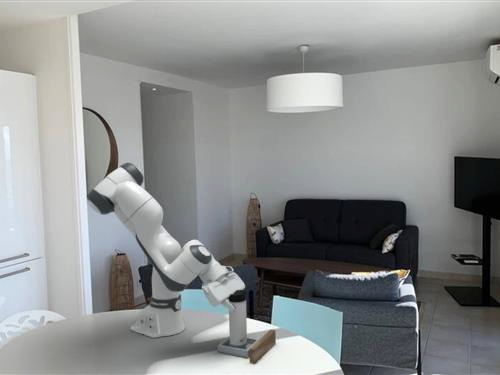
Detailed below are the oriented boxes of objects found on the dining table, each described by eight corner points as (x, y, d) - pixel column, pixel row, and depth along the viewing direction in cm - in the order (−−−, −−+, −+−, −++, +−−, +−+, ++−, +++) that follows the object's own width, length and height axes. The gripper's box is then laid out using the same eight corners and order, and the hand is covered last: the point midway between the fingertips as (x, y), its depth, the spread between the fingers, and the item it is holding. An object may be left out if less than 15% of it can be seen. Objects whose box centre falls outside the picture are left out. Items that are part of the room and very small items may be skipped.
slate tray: (217, 352, 159) (217, 345, 158) (232, 340, 168) (232, 334, 168) (247, 358, 153) (247, 351, 153) (260, 346, 163) (260, 339, 163)
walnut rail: (249, 362, 150) (249, 348, 150) (270, 342, 166) (270, 329, 166) (255, 363, 149) (254, 349, 149) (275, 343, 165) (275, 330, 165)
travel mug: (246, 349, 157) (245, 293, 155) (227, 348, 158) (226, 293, 156) (249, 341, 163) (248, 288, 161) (231, 340, 164) (230, 287, 163)
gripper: (204, 279, 153) (230, 310, 149) (233, 265, 171) (256, 293, 167) (194, 290, 155) (219, 321, 151) (223, 275, 173) (246, 303, 169)
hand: (239, 306), depth 159 cm, fingers closed on travel mug, 6 cm apart
